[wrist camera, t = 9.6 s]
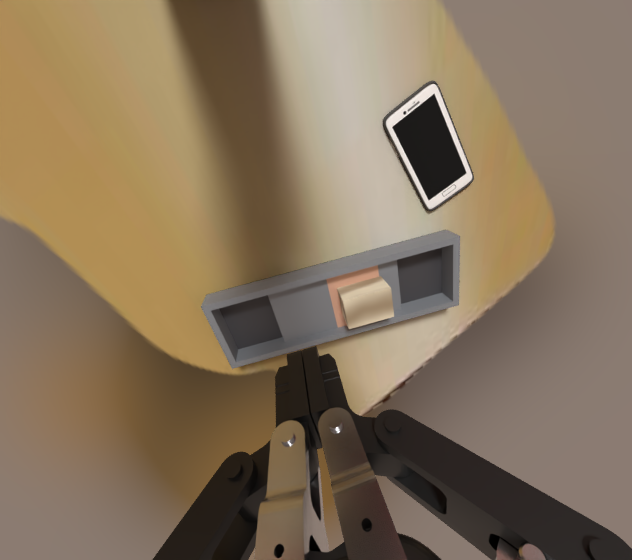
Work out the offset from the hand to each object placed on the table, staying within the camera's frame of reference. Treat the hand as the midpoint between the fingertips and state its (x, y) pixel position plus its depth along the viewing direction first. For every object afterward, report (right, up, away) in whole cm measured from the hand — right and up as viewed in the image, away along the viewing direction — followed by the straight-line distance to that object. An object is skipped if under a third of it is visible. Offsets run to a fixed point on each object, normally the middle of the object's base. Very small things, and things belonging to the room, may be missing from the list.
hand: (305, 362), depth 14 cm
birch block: (+8, +2, +29) cm, 30 cm away
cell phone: (+16, +22, +24) cm, 36 cm away
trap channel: (+4, +2, +31) cm, 31 cm away
